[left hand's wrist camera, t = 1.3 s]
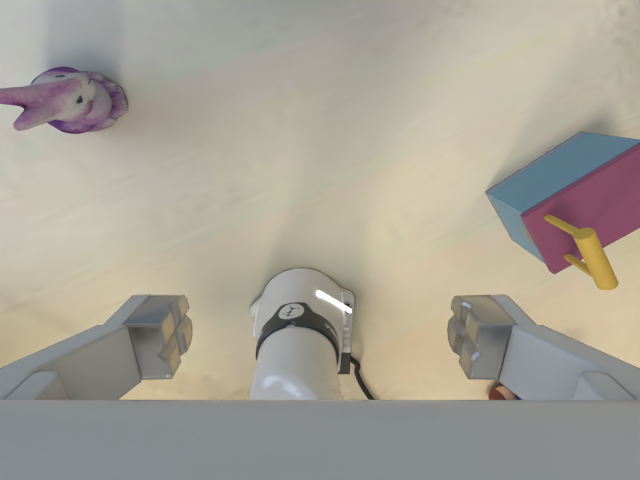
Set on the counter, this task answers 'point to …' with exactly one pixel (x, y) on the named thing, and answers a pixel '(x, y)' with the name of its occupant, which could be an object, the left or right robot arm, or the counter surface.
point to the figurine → (67, 101)
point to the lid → (589, 218)
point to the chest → (551, 179)
